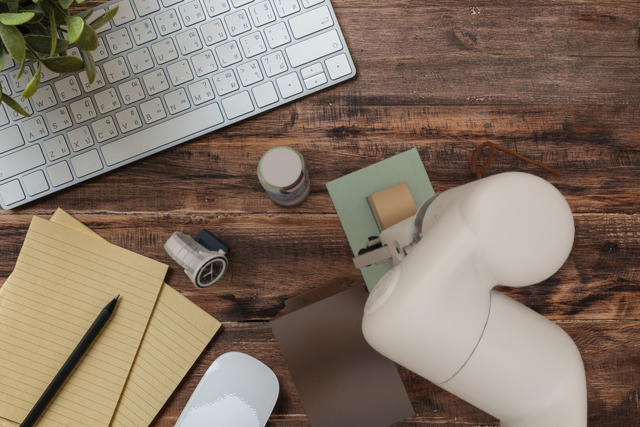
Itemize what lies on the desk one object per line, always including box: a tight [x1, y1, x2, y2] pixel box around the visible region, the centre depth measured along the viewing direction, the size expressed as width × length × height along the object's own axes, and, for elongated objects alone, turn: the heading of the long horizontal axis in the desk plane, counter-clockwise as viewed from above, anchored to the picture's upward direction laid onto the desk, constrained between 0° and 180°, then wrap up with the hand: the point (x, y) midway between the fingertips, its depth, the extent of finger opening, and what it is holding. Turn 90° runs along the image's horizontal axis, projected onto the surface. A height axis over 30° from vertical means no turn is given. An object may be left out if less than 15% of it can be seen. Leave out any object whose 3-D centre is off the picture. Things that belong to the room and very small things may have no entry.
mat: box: [324, 146, 436, 294], centre depth 68 cm, size 20×14×1 cm
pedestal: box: [268, 275, 416, 427], centre depth 57 cm, size 14×10×20 cm
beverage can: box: [256, 145, 312, 210], centre depth 62 cm, size 6×7×12 cm
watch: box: [163, 228, 232, 290], centre depth 61 cm, size 6×8×11 cm
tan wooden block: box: [365, 181, 418, 234], centre depth 65 cm, size 12×5×5 cm, turn 22°
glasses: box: [470, 140, 563, 181], centre depth 66 cm, size 13×13×5 cm
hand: (410, 233), depth 59 cm, fingers open, 9 cm apart
